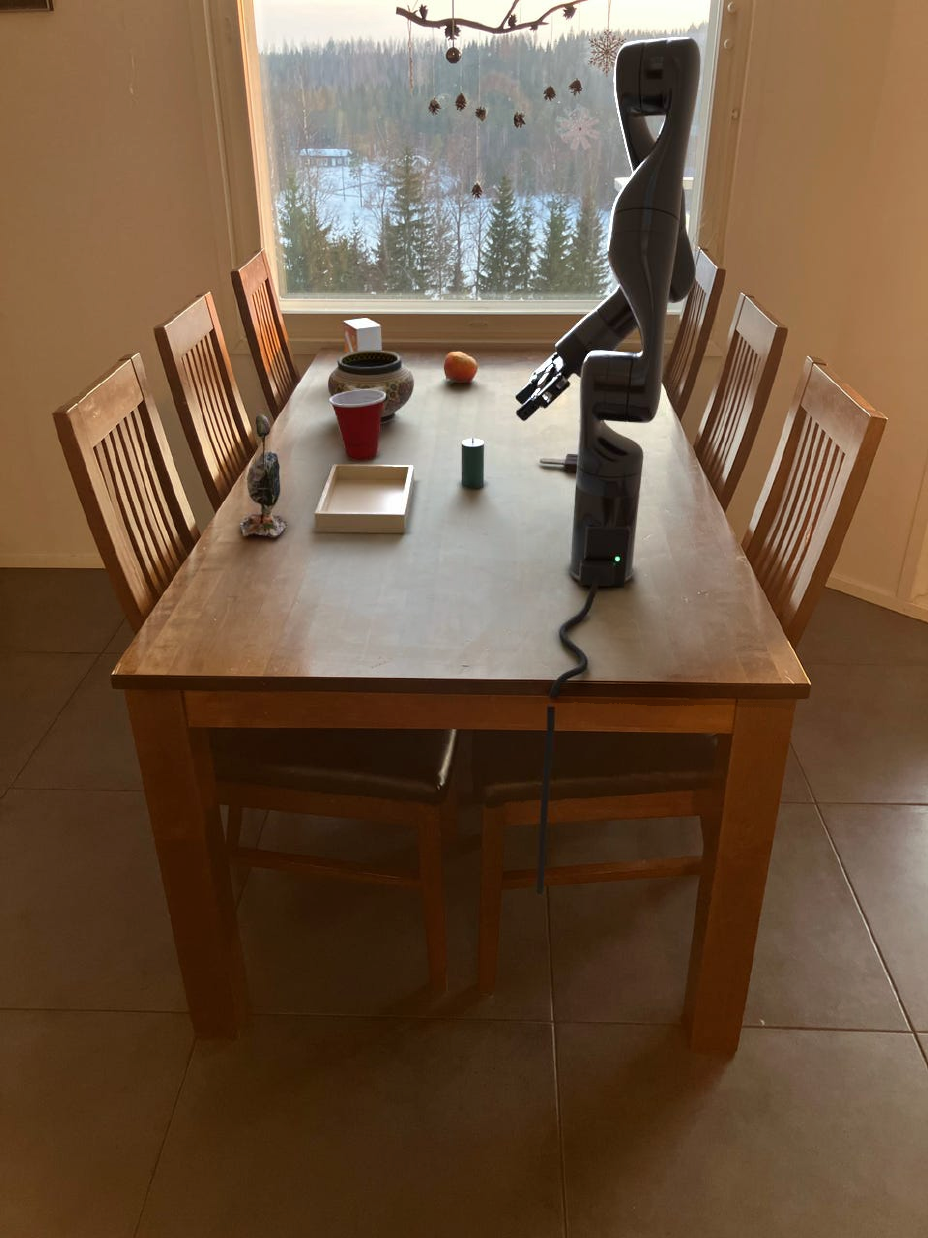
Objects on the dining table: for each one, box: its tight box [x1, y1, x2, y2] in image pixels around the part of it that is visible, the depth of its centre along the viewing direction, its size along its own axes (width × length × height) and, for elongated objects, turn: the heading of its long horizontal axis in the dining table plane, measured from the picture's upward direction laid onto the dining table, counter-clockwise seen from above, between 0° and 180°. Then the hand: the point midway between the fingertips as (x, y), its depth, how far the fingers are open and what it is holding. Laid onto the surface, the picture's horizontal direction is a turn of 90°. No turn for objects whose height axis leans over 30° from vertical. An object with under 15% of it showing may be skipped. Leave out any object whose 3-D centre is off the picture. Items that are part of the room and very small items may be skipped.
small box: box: [343, 317, 383, 354], centre depth 231 cm, size 8×6×13 cm
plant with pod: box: [239, 413, 288, 538], centre depth 157 cm, size 8×11×20 cm
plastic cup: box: [328, 389, 386, 461], centre depth 188 cm, size 11×11×12 cm
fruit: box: [443, 351, 479, 386], centre depth 231 cm, size 8×8×8 cm
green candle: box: [461, 437, 485, 490], centre depth 176 cm, size 4×4×9 cm
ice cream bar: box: [539, 453, 578, 473], centre depth 185 cm, size 5×2×15 cm
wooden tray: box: [314, 463, 415, 534], centre depth 169 cm, size 22×15×3 cm
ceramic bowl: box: [327, 349, 415, 425], centre depth 206 cm, size 24×18×15 cm
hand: (518, 408), depth 171 cm, fingers open, 8 cm apart
